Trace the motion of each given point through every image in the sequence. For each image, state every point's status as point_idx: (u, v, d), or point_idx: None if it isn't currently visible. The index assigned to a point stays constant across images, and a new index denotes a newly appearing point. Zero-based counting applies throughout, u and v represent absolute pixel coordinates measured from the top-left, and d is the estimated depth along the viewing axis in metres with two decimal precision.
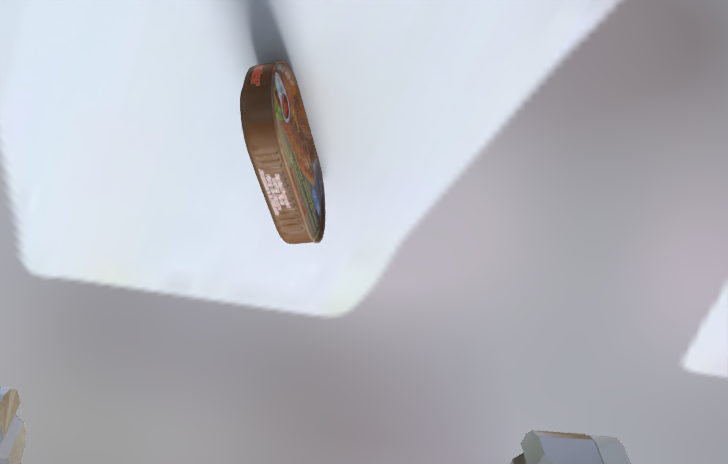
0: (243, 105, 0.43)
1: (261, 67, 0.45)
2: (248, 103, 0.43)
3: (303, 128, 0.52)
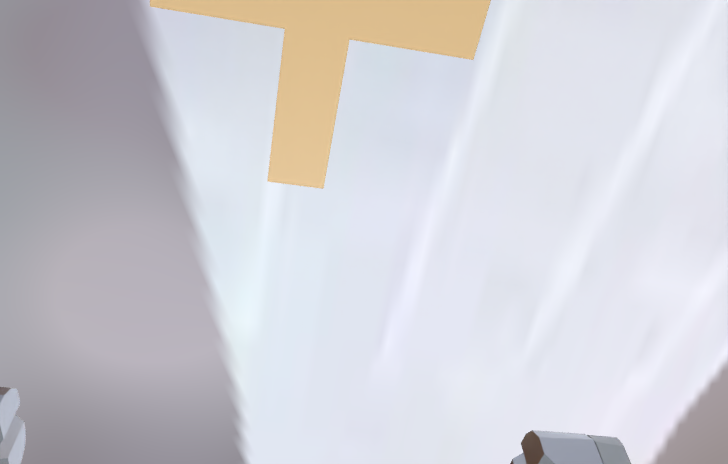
0: None
1: None
2: None
3: None
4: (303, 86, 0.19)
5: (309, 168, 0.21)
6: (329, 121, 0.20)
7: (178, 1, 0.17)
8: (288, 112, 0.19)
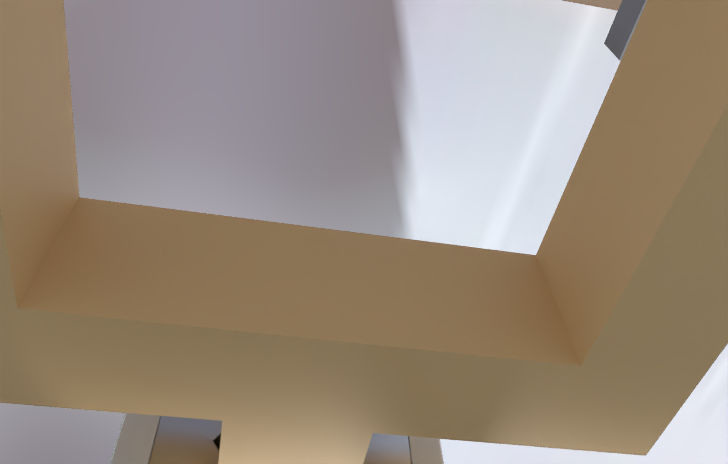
0: None
1: None
2: None
3: None
4: None
5: None
6: None
7: None
8: None
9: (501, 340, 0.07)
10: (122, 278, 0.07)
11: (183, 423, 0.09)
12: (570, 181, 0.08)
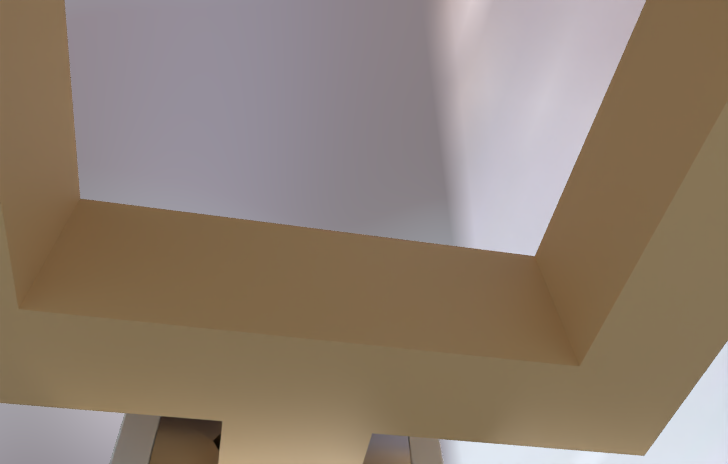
0: None
1: None
2: None
3: None
4: None
5: None
6: None
7: None
8: None
9: (501, 342, 0.07)
10: (123, 279, 0.07)
11: (183, 423, 0.09)
12: (568, 181, 0.08)
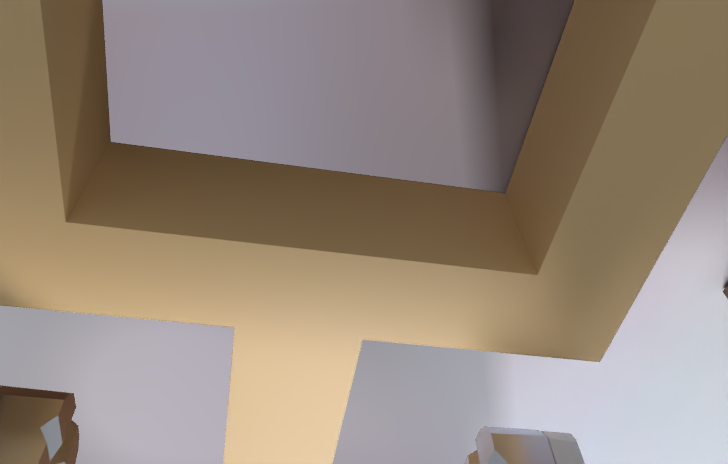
0: None
1: None
2: None
3: None
4: (274, 405, 0.10)
5: None
6: (325, 449, 0.11)
7: (13, 292, 0.08)
8: (249, 440, 0.10)
9: (470, 255, 0.09)
10: (150, 202, 0.08)
11: (12, 409, 0.09)
12: (531, 124, 0.10)
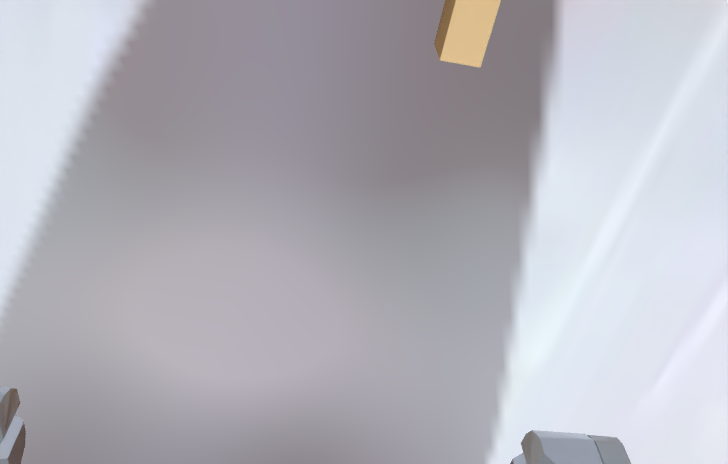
0: None
1: None
2: None
3: None
4: None
5: (472, 50, 0.28)
6: (493, 11, 0.27)
7: None
8: (464, 3, 0.26)
9: None
10: None
11: None
12: None
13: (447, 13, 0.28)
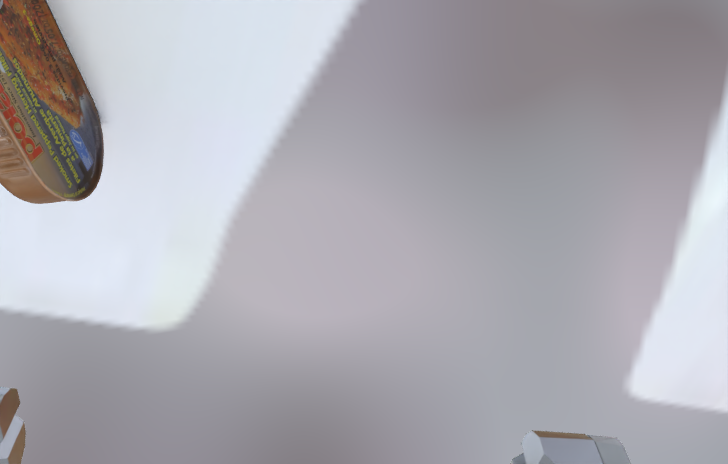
0: None
1: None
2: None
3: (55, 44, 0.37)
4: None
5: None
6: None
7: None
8: None
9: None
10: None
11: None
12: None
13: None
